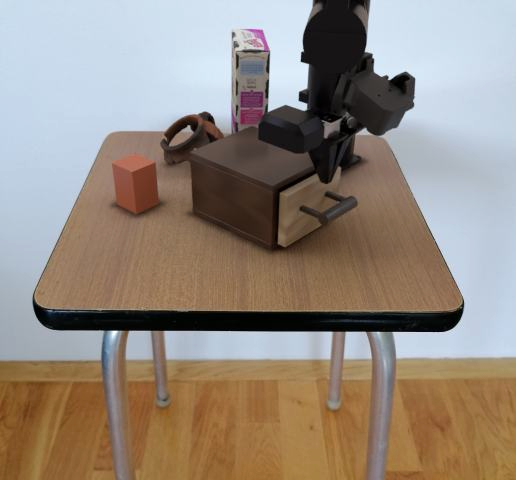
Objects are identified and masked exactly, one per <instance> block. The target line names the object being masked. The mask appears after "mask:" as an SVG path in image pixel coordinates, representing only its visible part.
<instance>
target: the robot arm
mask: <svg viewBox="0 0 516 480" xmlns="http://www.w3.org/2000/svg"><path fill="white" fill-rule="evenodd" d="M371 1H372V0H312V7H311V10H310V13H309V15H308V18H307V21H306V25H305V27H304V29H303V33H302V50H303V51H300V63H303V64H306V65H308V71H307V85H306V88H304V89H302V90H300V91H298V102H300V103H304V104H306V109H305V110H303V109H300V108H297V107H294V106H290V105H288V104H284V105H281V106H279V107H276V108H274V109H272V110H268V112H267V113H265V114H263V115H262V116H261V117H260V118H259V119H258V140H260V141H263V142H266V143H268V144H271V145H274V146H276V147H279V148H282V149H284V150H287V151H290V152H292V153H295V154H304V153H306V152H308V154H309V156H310V158H311V161H312V163H313V165H314V168H315V170H316V173H317V175H318V177H319V180H320V182H321V183H324V184H329V183H331V182H332V180H333V177H334V175H335V173H336V170H337V168H338V166H339V167H341V172H343V171H345V170H346V169H348V168H350V167H352V166H353V165H355V164H357V163H359V162H361V161H362V156H361V155H358V154H355V153H354V152H355V151H354V150H355V144H356V135H358V133H360V132H361V131H363V130H366V132H368V133H370V134H371V135H372V136H376V137H381V136H384V135H385V134H386V133H387V132H389V131H391V130H393V129H394V130H395V129H397V128H399V126H400V124H401V122H402V120H403V118H404V117H405V114H406V112H408V111H410V110H413V109H414V107H415V102H414V101H415V98H416V96H415V94H416V93H415V92H416V77H415V76H413V75H412V74H410V73H409V72H408V71H406V70H405V71H403V72H400V73H398V74H396V75H395V76H393V77H392V78H391V79H389V78H390V76H389V75H387V74H385V75H383V76H381V75H380V74H378V73H376V72H375V58H374V57H373V56H374V54H373V53H372V52H368V51H366V49H367V44H368V34H369V33H368V31H369V18H370V9H371Z"/></svg>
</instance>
